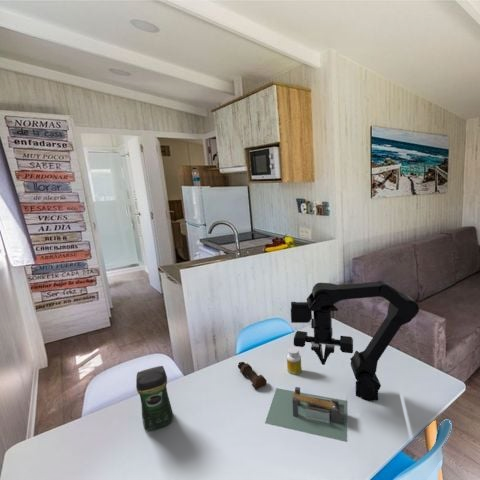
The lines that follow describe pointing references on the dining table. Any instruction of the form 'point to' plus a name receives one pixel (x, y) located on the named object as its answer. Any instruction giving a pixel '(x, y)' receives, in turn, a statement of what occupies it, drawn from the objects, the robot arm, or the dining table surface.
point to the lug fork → (296, 402)
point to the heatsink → (318, 412)
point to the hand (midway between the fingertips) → (323, 364)
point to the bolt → (252, 375)
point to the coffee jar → (154, 398)
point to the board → (303, 416)
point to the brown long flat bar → (315, 401)
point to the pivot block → (337, 413)
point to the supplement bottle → (293, 361)
